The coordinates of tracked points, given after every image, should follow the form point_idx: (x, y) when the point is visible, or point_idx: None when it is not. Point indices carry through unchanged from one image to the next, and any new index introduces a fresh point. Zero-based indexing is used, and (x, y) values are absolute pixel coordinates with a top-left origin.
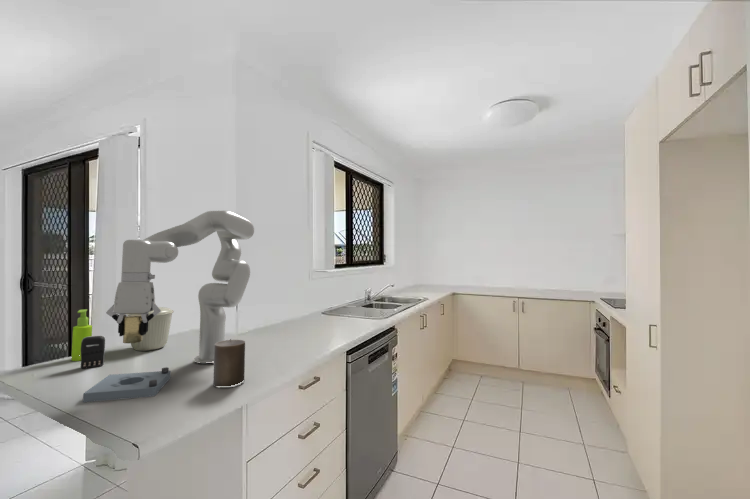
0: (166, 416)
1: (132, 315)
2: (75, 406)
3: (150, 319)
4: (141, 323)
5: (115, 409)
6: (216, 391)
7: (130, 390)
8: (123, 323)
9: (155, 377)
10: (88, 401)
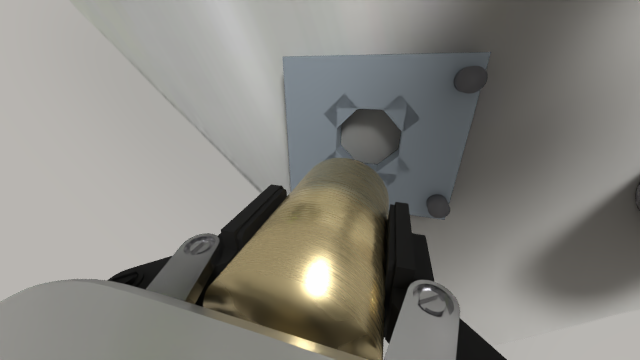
0: (473, 309)
1: (238, 285)
2: None
3: (468, 344)
4: (384, 335)
5: None
6: (627, 237)
7: None
8: None
9: (435, 130)
10: None
